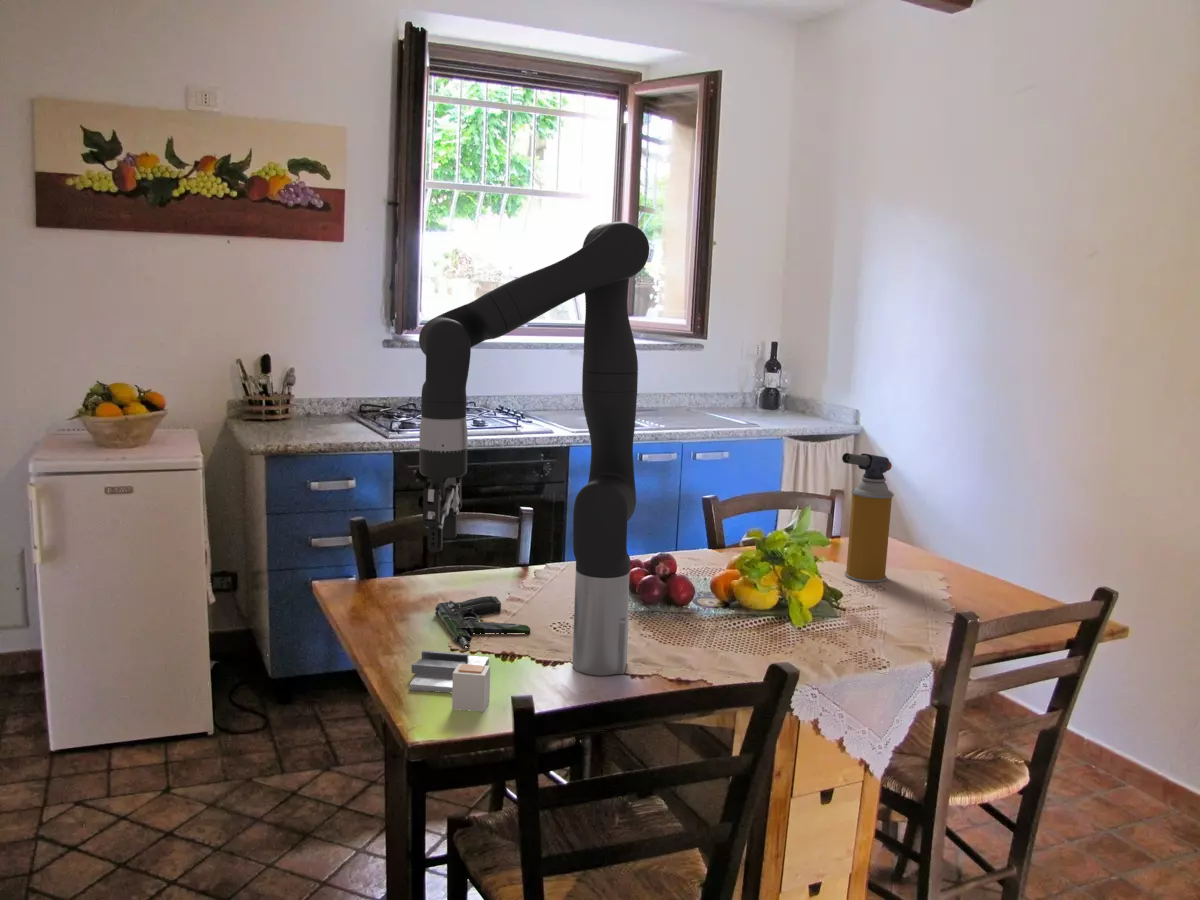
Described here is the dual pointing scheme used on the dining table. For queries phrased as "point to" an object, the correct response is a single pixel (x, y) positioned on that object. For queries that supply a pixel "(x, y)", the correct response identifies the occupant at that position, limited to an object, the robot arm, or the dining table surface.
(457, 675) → the block
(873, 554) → the blowtorch
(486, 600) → the pistol
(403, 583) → the dining table surface
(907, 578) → the dining table surface
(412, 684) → the rail panel
